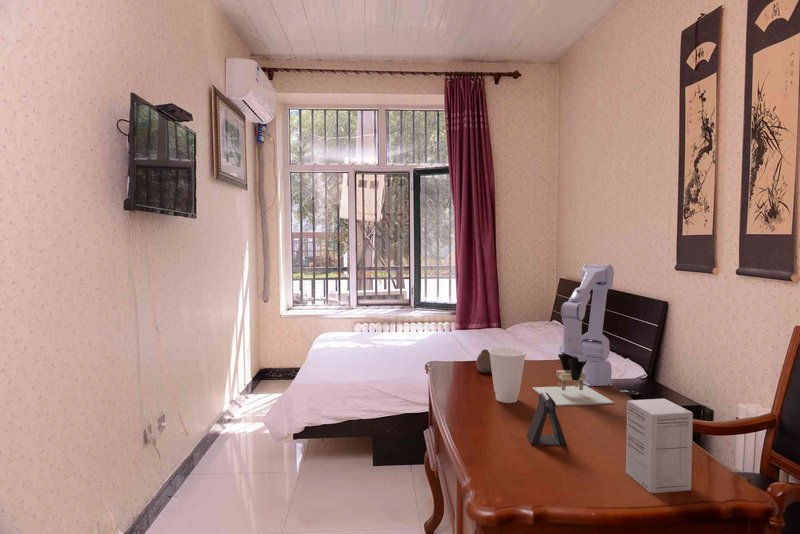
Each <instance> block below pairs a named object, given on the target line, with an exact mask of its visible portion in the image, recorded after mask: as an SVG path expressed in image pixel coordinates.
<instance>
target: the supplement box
mask: <svg viewBox="0 0 800 534" xmlns="http://www.w3.org/2000/svg"><path fill="white" fill-rule="evenodd" d="M693 418H694V413H693V411H691V410H688V409H686V408H684V407H682V406H680V405H678V404H676V403H675V402H672V401H670V400H668V399H666V398H654V399H653V398H651V399H650V398H648V399H632V400H631V399H630V400H627V401H626V441H625V442H626V444H625V445H626V446H625V447H626V452H625V454H626V455H625V456H626V457H625V473H626V474H627V475H628V476H629V477H630V478H631V479H633V480H634V481H635V482H636V483H638V484H639V485H641V487H643V488H644V489H645V490H646V491H647V492H649V493H650V494H658V493H660V494H661V493H672V492H673V493H674V492H685V491H691V490H692V467H693V466H692V462H693V456H692V455H693V424H694V423H693V420H694V419H693Z"/></svg>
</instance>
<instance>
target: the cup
mask: <svg viewBox="0 0 800 534" xmlns="http://www.w3.org/2000/svg"><path fill="white" fill-rule="evenodd" d="M488 351H489V353H490V361H491V368H492V371H491V375H492V382H493V391H494V392H495V400H496V401H498V402H500V403H504V404H512V403H513V404H514V403H517V402H518V398H519V394H520V391H521V385H522V379H523V372H524V366H525V360H526V355H527V352H526V351H524V350H521V349H518V348H511V347H497V348H491V349H489V350H488Z"/></svg>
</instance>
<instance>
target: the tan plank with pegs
mask: <svg viewBox="0 0 800 534" xmlns="http://www.w3.org/2000/svg"><path fill="white" fill-rule="evenodd" d="M555 376H556V377H557V387H561V386H562V390H563V391H565V390H566V386H567V381H573V380H572V376H571V370H563V369H561V370H560V369H559V370H557V369H556V371H555ZM585 377H586V374H584V373H583V371H582V372H581V375H580V378H579V380H574V386H575V387H579V390H583V386H584V383H583V380H585Z"/></svg>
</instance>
